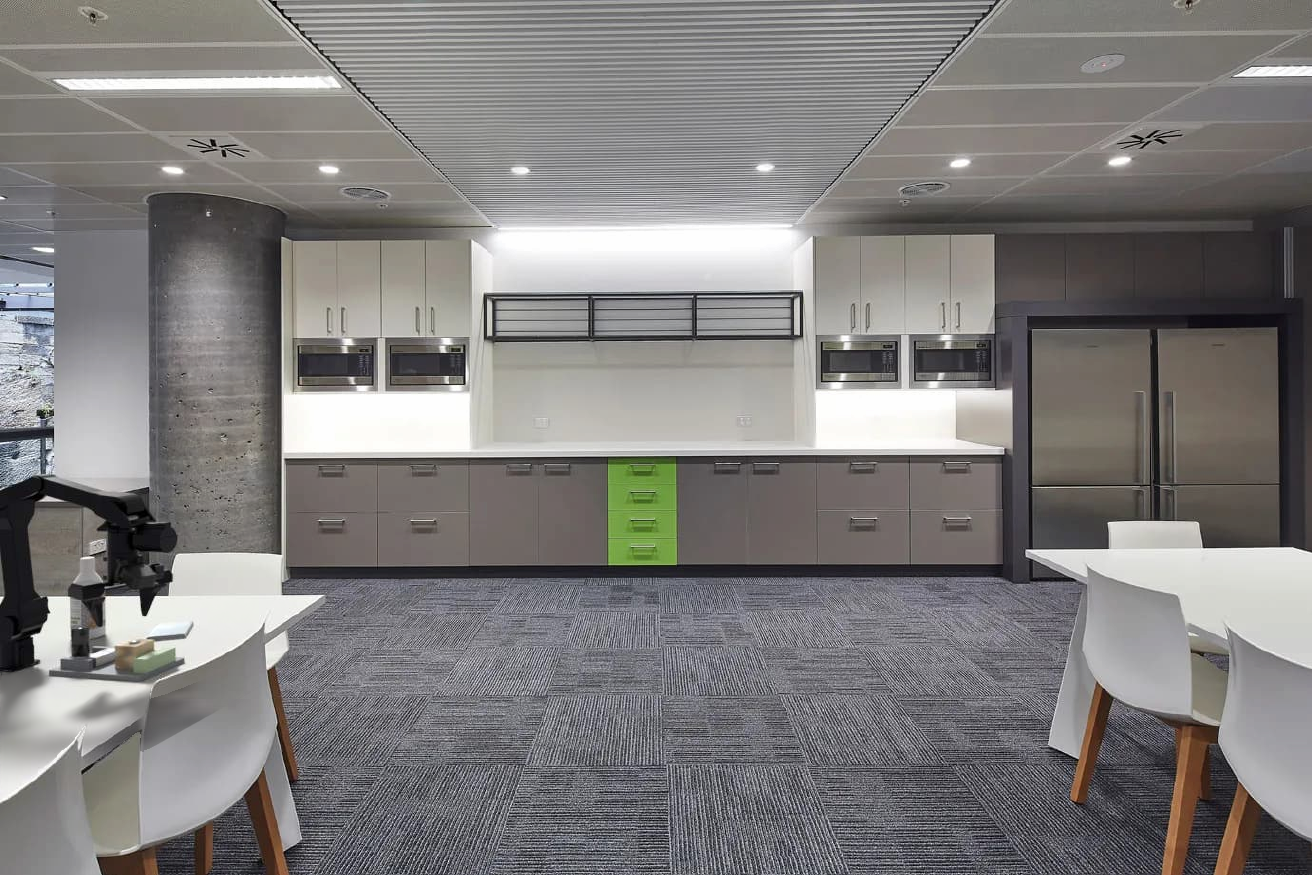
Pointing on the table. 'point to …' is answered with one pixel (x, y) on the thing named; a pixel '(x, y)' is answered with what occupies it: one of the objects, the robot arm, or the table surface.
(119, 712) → the table surface
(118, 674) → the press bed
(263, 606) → the table surface
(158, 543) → the robot arm
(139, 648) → the housing
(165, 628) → the hard drive
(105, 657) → the ram
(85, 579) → the bath foam
